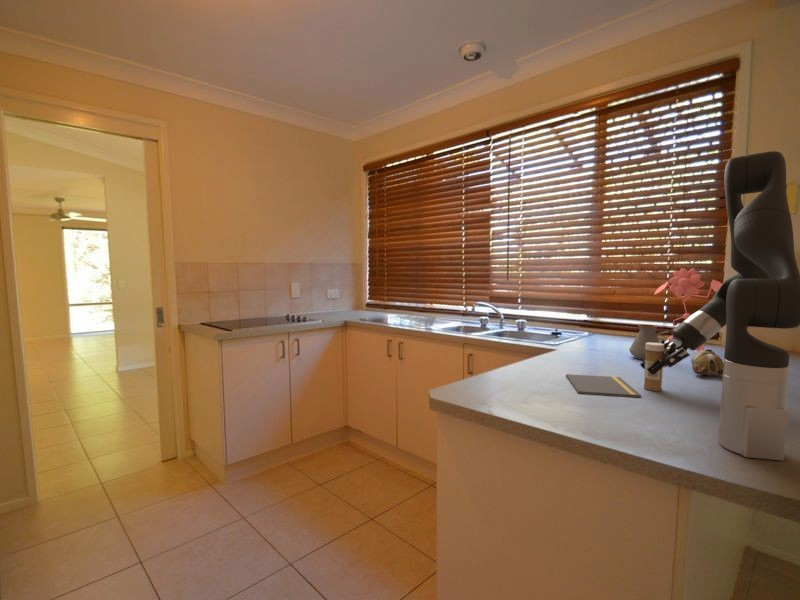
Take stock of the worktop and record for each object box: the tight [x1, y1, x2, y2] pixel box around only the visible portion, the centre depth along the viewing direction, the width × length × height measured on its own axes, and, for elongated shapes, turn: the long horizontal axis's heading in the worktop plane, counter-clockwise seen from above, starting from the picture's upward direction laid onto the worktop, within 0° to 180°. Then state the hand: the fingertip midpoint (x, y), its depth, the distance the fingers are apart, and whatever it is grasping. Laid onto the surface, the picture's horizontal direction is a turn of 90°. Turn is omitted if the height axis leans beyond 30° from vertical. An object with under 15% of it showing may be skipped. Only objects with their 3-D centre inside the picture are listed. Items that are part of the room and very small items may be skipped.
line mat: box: [565, 373, 642, 398], centre depth 118 cm, size 18×16×1 cm
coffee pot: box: [628, 324, 673, 361], centre depth 148 cm, size 21×12×15 cm, turn 40°
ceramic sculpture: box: [690, 348, 724, 377], centre depth 130 cm, size 11×9×15 cm
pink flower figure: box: [653, 267, 723, 352], centre depth 164 cm, size 15×26×35 cm, turn 31°
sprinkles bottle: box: [643, 342, 664, 392], centre depth 114 cm, size 5×5×13 cm
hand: (646, 369), depth 115 cm, fingers open, 4 cm apart
